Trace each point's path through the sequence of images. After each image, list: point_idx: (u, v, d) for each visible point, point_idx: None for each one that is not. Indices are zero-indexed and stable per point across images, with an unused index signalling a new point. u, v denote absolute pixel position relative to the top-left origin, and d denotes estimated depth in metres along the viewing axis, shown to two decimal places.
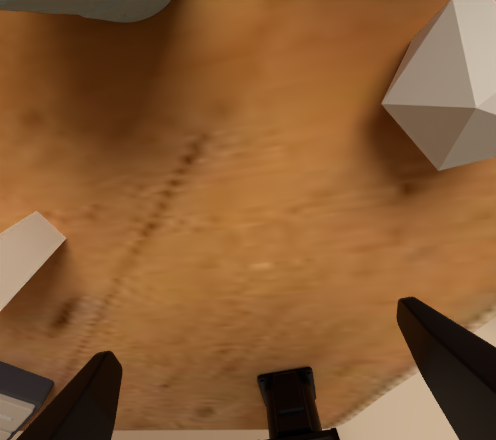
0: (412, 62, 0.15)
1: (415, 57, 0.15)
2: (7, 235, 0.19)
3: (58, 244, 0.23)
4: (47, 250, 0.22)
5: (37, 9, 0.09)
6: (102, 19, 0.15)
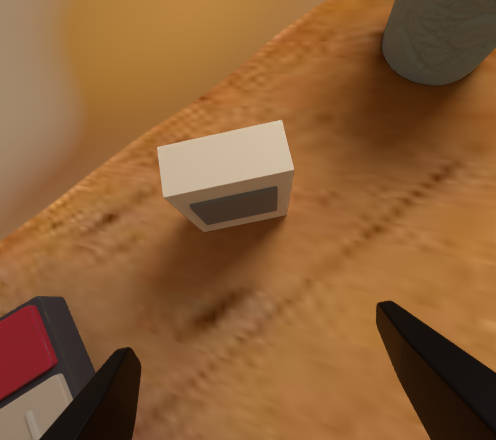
0: None
1: None
2: None
3: None
4: None
5: None
6: (420, 70, 0.24)
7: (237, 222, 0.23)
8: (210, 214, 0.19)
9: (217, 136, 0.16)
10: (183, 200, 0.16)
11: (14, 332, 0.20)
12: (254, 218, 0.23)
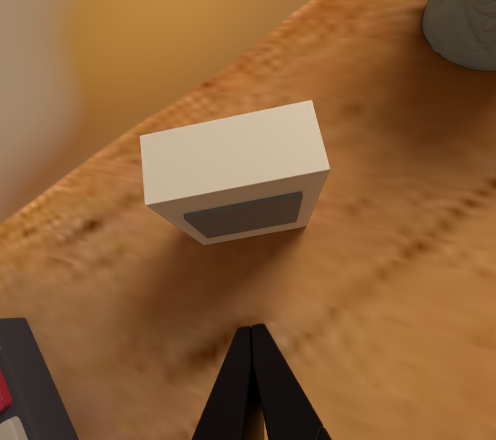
0: None
1: None
2: None
3: (307, 220, 0.18)
4: None
5: None
6: (474, 50, 0.19)
7: (245, 234, 0.19)
8: (211, 226, 0.14)
9: (222, 122, 0.11)
10: (174, 209, 0.12)
11: None
12: (266, 230, 0.18)
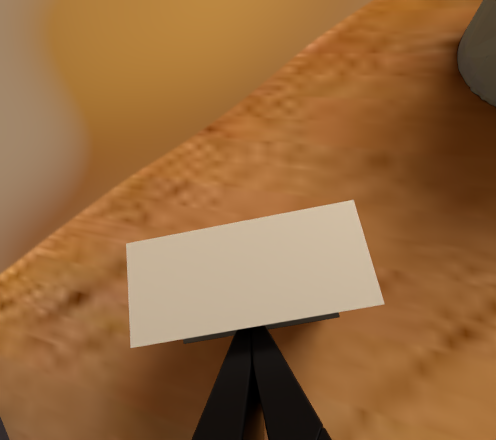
0: None
1: None
2: None
3: None
4: None
5: None
6: None
7: None
8: None
9: (234, 227, 0.09)
10: None
11: None
12: None
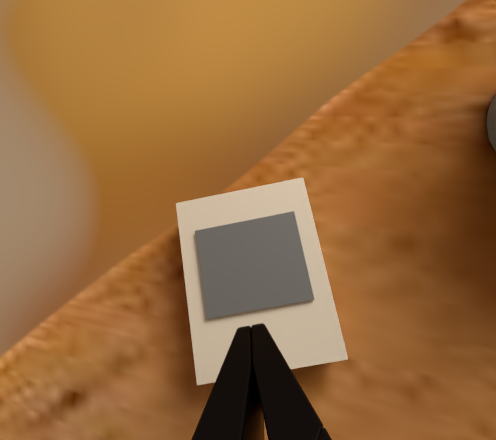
0: None
1: None
2: None
3: (341, 334, 0.13)
4: None
5: None
6: None
7: None
8: (214, 266, 0.14)
9: None
10: (192, 218, 0.15)
11: None
12: (285, 345, 0.13)
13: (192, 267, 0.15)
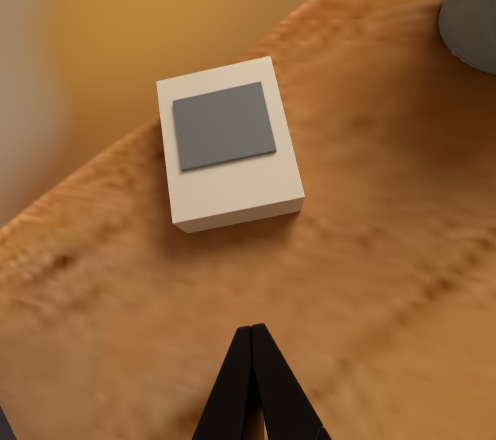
0: None
1: None
2: None
3: (299, 178, 0.15)
4: None
5: None
6: None
7: (225, 196, 0.15)
8: (189, 128, 0.16)
9: None
10: (170, 92, 0.17)
11: None
12: (250, 188, 0.15)
13: (170, 131, 0.16)
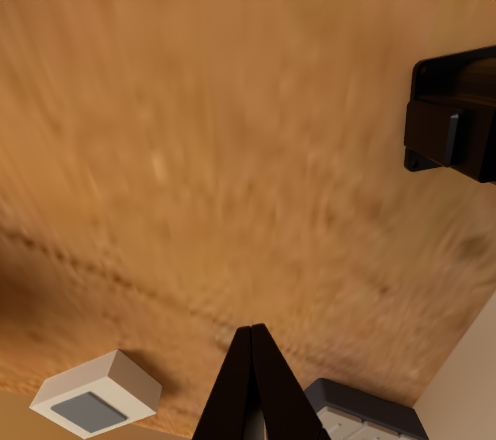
0: None
1: None
2: None
3: (97, 378, 0.25)
4: (88, 379, 0.25)
5: None
6: None
7: (129, 401, 0.27)
8: (101, 424, 0.28)
9: None
10: (86, 433, 0.29)
11: None
12: (118, 394, 0.26)
13: (109, 427, 0.29)
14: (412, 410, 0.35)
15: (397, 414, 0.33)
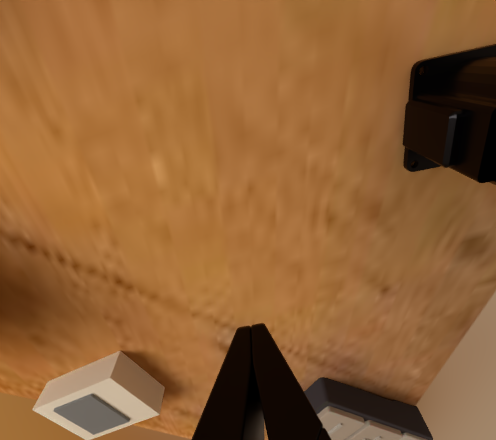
0: None
1: None
2: None
3: (100, 380, 0.25)
4: (91, 381, 0.25)
5: None
6: None
7: (132, 402, 0.27)
8: (104, 425, 0.28)
9: None
10: (89, 434, 0.29)
11: None
12: (120, 396, 0.26)
13: (112, 428, 0.29)
14: (415, 408, 0.35)
15: (399, 413, 0.32)
